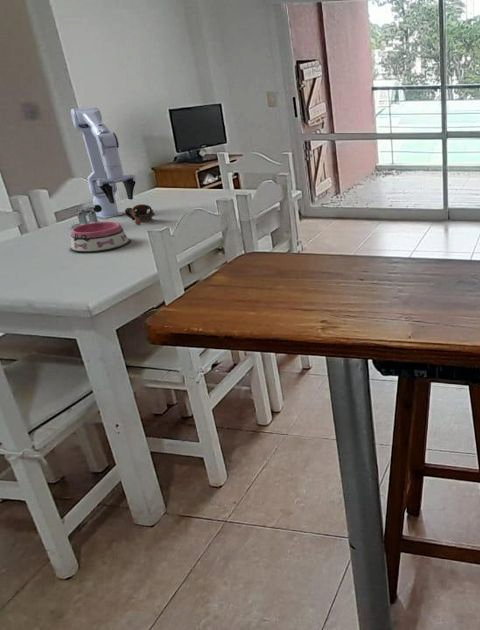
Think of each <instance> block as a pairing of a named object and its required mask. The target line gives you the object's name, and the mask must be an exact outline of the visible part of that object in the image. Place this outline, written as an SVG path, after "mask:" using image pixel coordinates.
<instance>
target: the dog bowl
mask: <svg viewBox="0 0 480 630" xmlns="http://www.w3.org/2000/svg"><path fill="white" fill-rule="evenodd" d="M129 243H130V240H129V238H128V236H127V235H126V233H125V230H124V228H123V226H122V225H121V224H120V223H119V222H116V221H99V222H96V223H89V224H84V225H80V226H77V227H75V228H72V229H71V235H70V250H71V251H73V252H76V253H83V254H84V253H87V254H88V253H101V252H107V251H111V250H115V249H119V248H123V247H124V246H126V245H128V244H129Z"/></svg>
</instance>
